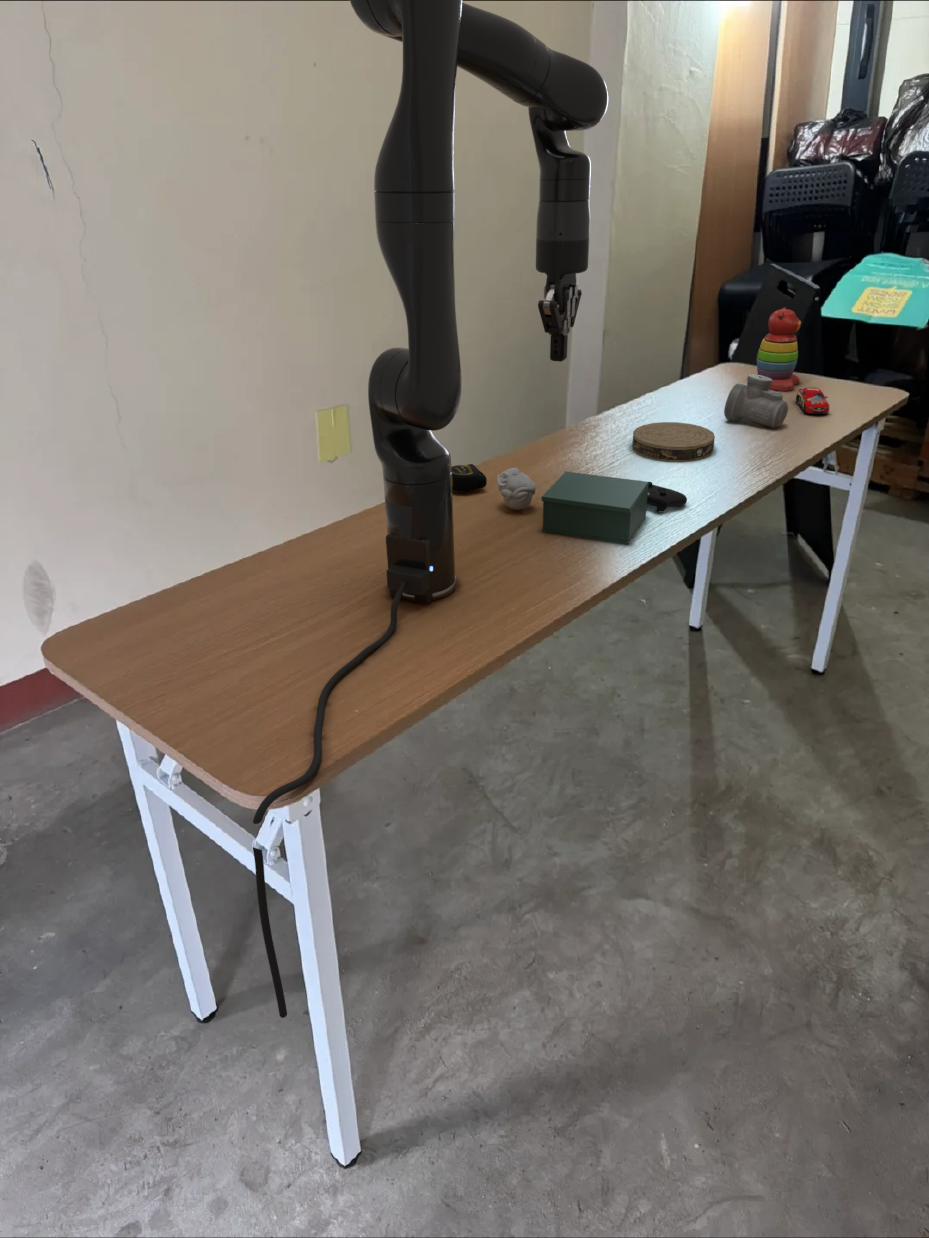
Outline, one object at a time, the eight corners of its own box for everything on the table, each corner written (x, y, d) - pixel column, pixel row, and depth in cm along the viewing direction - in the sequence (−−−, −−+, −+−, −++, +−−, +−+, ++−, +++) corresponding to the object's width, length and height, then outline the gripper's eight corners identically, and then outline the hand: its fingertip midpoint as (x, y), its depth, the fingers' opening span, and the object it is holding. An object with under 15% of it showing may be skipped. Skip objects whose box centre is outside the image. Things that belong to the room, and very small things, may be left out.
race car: (830, 417, 189) (833, 399, 187) (804, 416, 190) (807, 398, 188) (818, 400, 200) (821, 383, 198) (793, 399, 201) (796, 382, 199)
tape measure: (488, 492, 156) (488, 473, 154) (451, 498, 154) (451, 478, 152) (476, 480, 161) (475, 461, 159) (440, 485, 160) (440, 465, 158)
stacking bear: (790, 392, 207) (803, 314, 198) (748, 387, 211) (758, 311, 202) (800, 381, 215) (813, 306, 206) (759, 377, 219) (769, 304, 210)
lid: (629, 513, 132) (629, 508, 131) (541, 501, 137) (541, 496, 136) (648, 486, 141) (648, 481, 141) (565, 475, 146) (565, 471, 146)
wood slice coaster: (701, 434, 181) (702, 420, 179) (722, 460, 167) (724, 445, 165) (625, 437, 180) (626, 423, 179) (640, 463, 167) (642, 448, 165)
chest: (628, 544, 135) (630, 511, 132) (542, 531, 140) (543, 499, 137) (645, 518, 144) (648, 486, 141) (564, 506, 149) (565, 476, 146)
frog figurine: (509, 498, 153) (509, 461, 149) (543, 506, 149) (543, 468, 146) (489, 510, 149) (489, 471, 145) (524, 518, 145) (524, 479, 141)
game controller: (690, 499, 148) (680, 482, 143) (677, 526, 147) (665, 511, 142) (642, 486, 154) (630, 470, 149) (629, 512, 153) (616, 497, 148)
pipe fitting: (718, 420, 187) (730, 373, 182) (734, 415, 192) (747, 369, 187) (769, 437, 181) (784, 389, 175) (785, 431, 186) (800, 384, 181)
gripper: (573, 241, 116) (567, 372, 124) (602, 231, 126) (595, 353, 135) (521, 239, 119) (519, 367, 127) (553, 230, 129) (549, 349, 137)
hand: (558, 360), depth 131 cm, fingers closed
